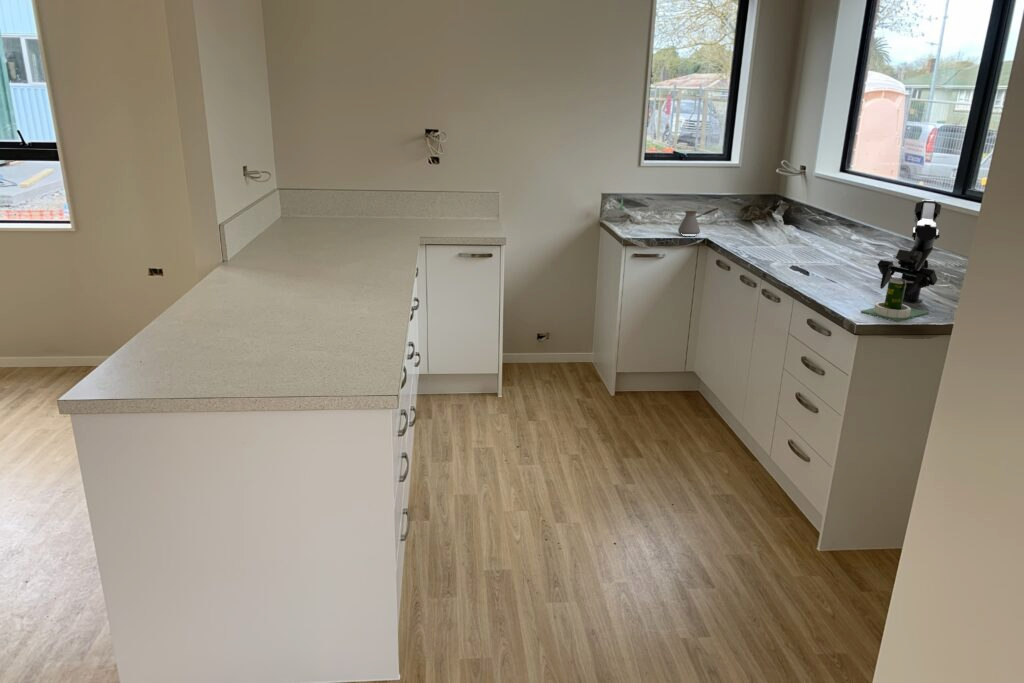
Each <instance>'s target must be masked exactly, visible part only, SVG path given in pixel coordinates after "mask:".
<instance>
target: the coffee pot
mask: <svg viewBox="0 0 1024 683" xmlns="http://www.w3.org/2000/svg"><path fill="white" fill-rule="evenodd" d="M715 211H718V212H720V208H719V207H715V208H712V209H709V210H707V211H706V212H704V213H701V214H698V215H697V213H698V211H695V210H684V213H685V216H684V217H683V220H682V221H681V223H680V226H678V229H677V230H678V231H677V232H678V234H680V233H682V234H698V235H699V234H701V229H700V227H699V226H700V225H699V224H698V218H700V217H702V216H705V215H707V214H711V213H712V212H715Z"/></svg>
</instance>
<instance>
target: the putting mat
mask: <svg viewBox="0 0 1024 683" xmlns="http://www.w3.org/2000/svg"><path fill="white" fill-rule="evenodd" d="M910 308H911V312H910V316H909V317H906V318H894V317H887V316H883V315H879V314H877V313H875V312H874V307H872V308H867V309H863V310H861V311H860V313H861V312H862V314H865V313H866V315H869V314H870V316H873V315H874V316H873V317H877V316H878V317H877V318H880V317H883V318H882V319H884V318H886V319H885V320H888V319H890V320H889V321H892V320H893V321H892V322H895V321H896V323H899V322H902V320H903V321H906V320H910V319H914V318H917V316H918V317H921V316H925V315H928V314H929V312H928V311H924V310H920V309H917V308H912V307H910ZM913 317H914V318H913ZM909 318H910V319H909ZM898 321H899V322H898Z"/></svg>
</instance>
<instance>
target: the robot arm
mask: <svg viewBox="0 0 1024 683" xmlns="http://www.w3.org/2000/svg"><path fill="white" fill-rule="evenodd" d="M941 208H942V205H941V204H940V203H938V201H936V200H932V199H931V200H930V199H921V201H919V202H916V203H915V206H914V210H913V216H914V223H915V224H916V225H915V226H913V229H912V233H911V238H913V241H914V242H913V244H914V245H913V246H912V248H911V249H910V250H905V249H898V251H897V252H896V253H897V254H896V256H895V260H898V261H897V263H898V265H900V266H898V265H895V264H894V262H893V260H888V259H880V260H879V261H878V263H877V267H878V270H879V272H880V274H881V276H882V277H881V280H880V287H879V288H880V289H881V290H882V289H884V288H885V287H886V285H888V283H889V280H890V278H893V275H894V274H895V273H899V274H901V277H900V278H903V279H906V288H905V293H904V298H903V302H907V303H911V304H915V303H920V302H923V299H921V298H920V294H921V291H922V288H923V289H924V288H926V287H929V286H935V285H936V284H937V280H938V277H937V274H936V271H935V269H932V268H929V261H928V260H927V259H928V257H929V256H930V254H931V253H932V251H933V250H934V247H933V246H934V243H935V240H936V241H937V240H938V239H939V238H940V235H941V233H940V230H939V228H937V227H938V226H937V225H938V223H936V221H937V218H939V217H940V213H941Z"/></svg>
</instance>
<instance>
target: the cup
mask: <svg viewBox="0 0 1024 683" xmlns="http://www.w3.org/2000/svg"><path fill="white" fill-rule="evenodd" d="M884 303H885V301H877V302H875V304H874V307H873V308H874V312H875V313H877V314H879V315H883V316H887V317H894V318H906V317H909V316H910V312H911V308H912V307H911V306H908V305H906V304H903V303H902V307H901V310H894V309H888V308H884Z"/></svg>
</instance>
